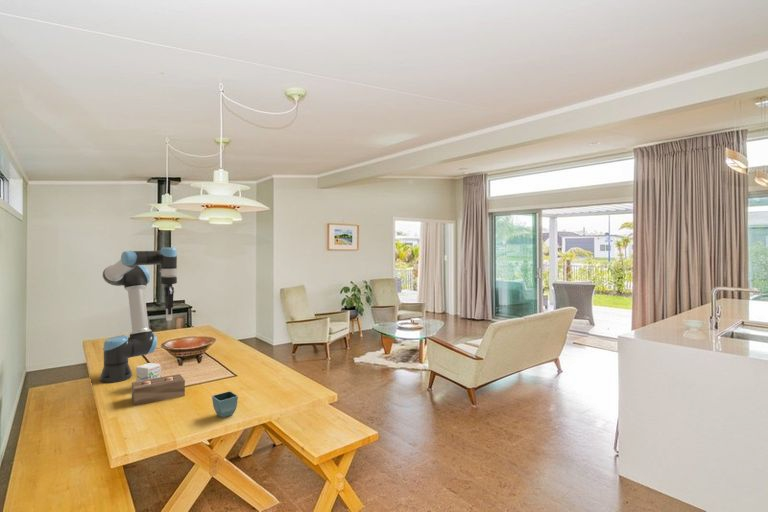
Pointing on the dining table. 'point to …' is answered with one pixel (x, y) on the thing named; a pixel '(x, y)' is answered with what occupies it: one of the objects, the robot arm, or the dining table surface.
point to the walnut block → (158, 389)
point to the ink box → (148, 371)
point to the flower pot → (225, 403)
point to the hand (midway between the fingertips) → (169, 320)
